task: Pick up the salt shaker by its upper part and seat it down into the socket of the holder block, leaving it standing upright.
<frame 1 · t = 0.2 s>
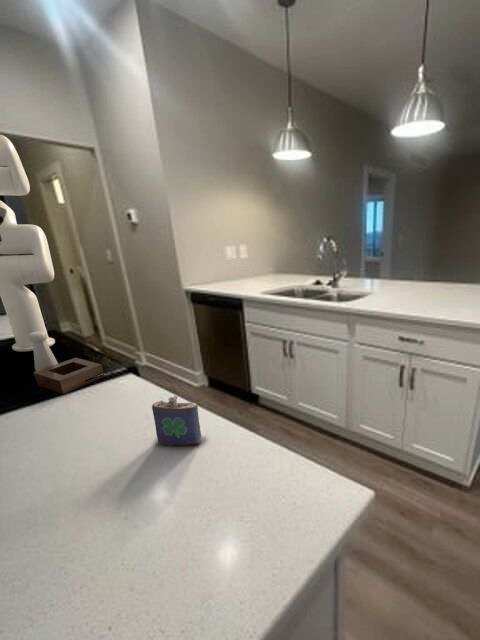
salt shaker: (49, 374, 103), on the counter
flask: (179, 442, 72), on the counter
holder: (72, 381, 99), on the counter
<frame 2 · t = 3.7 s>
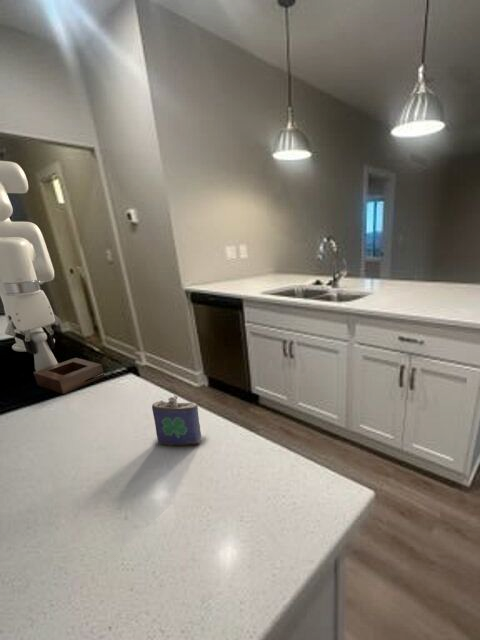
hand: (41, 349, 100), 8 cm above the counter, tool pointing down, fingers closed on salt shaker, 4 cm apart
salt shaker: (49, 374, 103), on the counter, touching gripper
everything else where it was.
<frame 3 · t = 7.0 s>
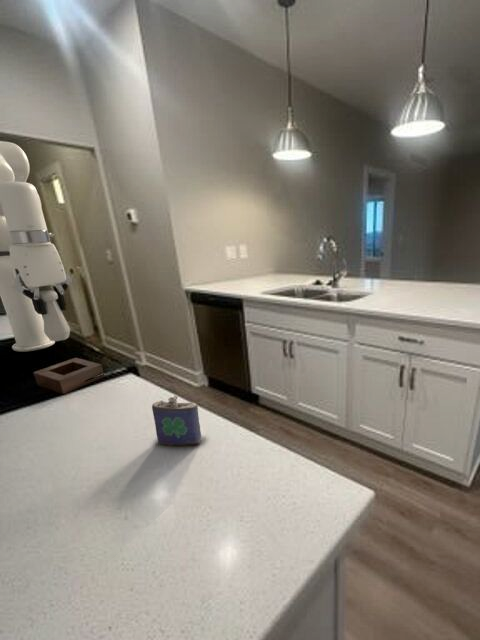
hand: (51, 311, 91), 21 cm above the counter, tool pointing down, fingers closed on salt shaker, 4 cm apart
salt shaker: (59, 339, 94), point 13 cm above the counter, touching gripper
everything else where it was.
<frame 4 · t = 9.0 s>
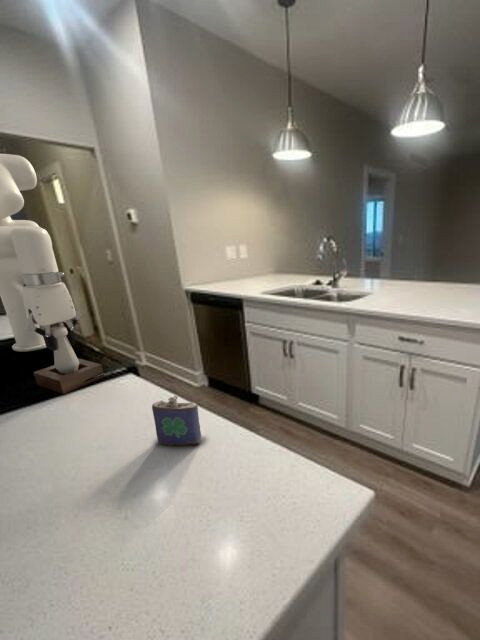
hand: (61, 345, 95), 11 cm above the counter, tool pointing down, fingers closed on salt shaker, 4 cm apart
salt shaker: (69, 372, 98), point 3 cm above the counter, touching gripper
everything else where it was.
when the fingers open (8 cm above the counter, at t = 10.3 s): salt shaker stays where it is, resting in holder.
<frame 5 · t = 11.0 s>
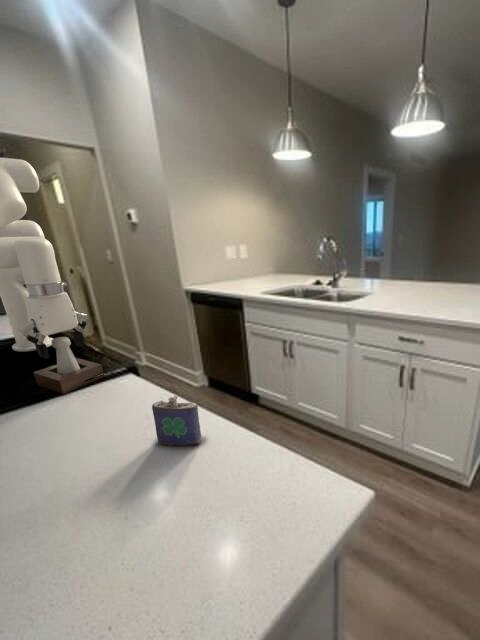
hand: (63, 351, 95), 9 cm above the counter, tool pointing down, fingers open, 9 cm apart
salt shaker: (72, 381, 99), resting in holder
everything else where it was.
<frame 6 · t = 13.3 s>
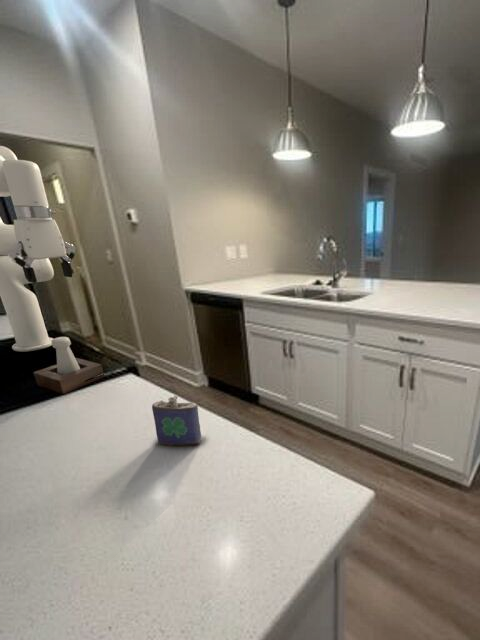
hand: (51, 279, 98), 27 cm above the counter, tool pointing down, fingers open, 9 cm apart
nothing on the counter moved.
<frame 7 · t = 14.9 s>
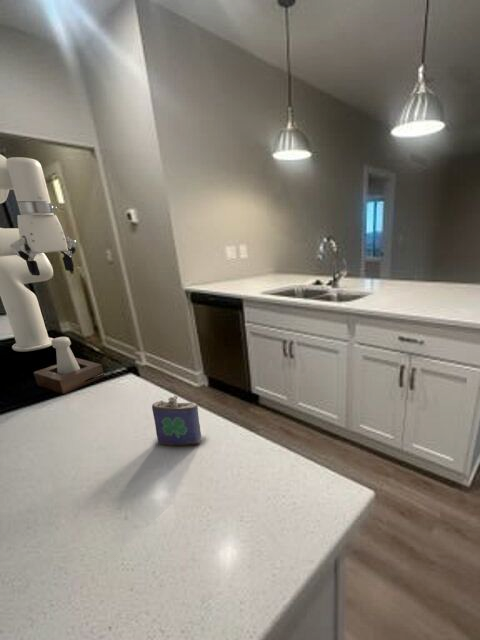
hand: (53, 272, 101), 28 cm above the counter, tool pointing down, fingers open, 9 cm apart
nothing on the counter moved.
at the end: salt shaker 0.0 cm off-centre in the holder, point 0.0 cm above the holder's base; salt shaker tilted 0°; the gripper is holding nothing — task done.
